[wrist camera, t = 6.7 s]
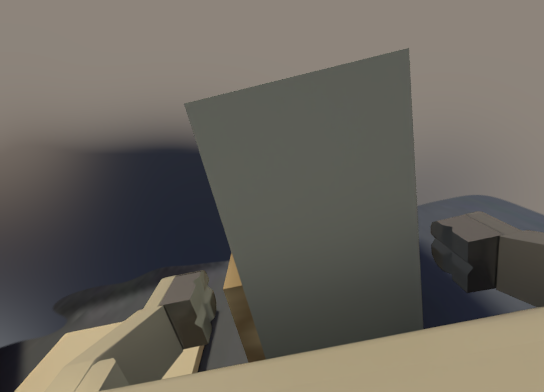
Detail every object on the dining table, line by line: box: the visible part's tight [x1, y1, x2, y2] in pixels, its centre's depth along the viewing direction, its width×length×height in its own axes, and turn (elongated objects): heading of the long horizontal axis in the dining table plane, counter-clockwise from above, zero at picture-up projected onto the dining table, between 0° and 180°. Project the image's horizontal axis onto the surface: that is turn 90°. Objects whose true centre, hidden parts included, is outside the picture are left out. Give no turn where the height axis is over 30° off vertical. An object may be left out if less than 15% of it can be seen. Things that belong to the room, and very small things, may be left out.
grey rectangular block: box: [184, 48, 423, 359], centre depth 11 cm, size 4×8×14 cm, turn 1°
